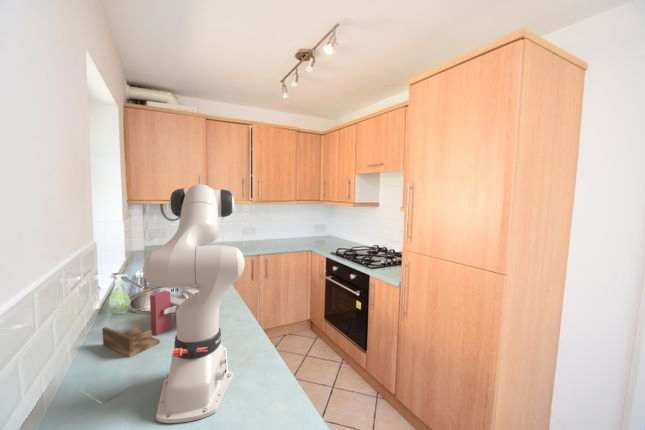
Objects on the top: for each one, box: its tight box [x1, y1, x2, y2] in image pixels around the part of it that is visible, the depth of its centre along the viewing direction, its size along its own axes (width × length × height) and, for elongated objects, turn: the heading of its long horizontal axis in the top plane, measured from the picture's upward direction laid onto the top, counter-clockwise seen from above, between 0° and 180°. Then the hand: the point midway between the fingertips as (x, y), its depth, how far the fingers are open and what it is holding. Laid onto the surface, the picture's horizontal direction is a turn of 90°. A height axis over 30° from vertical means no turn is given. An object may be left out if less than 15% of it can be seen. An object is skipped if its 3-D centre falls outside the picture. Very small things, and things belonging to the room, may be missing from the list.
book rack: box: [102, 325, 160, 358], centre depth 100 cm, size 10×16×6 cm, turn 63°
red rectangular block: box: [149, 290, 172, 336], centre depth 109 cm, size 6×3×15 cm, turn 153°
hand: (158, 310), depth 109 cm, fingers open, 4 cm apart
